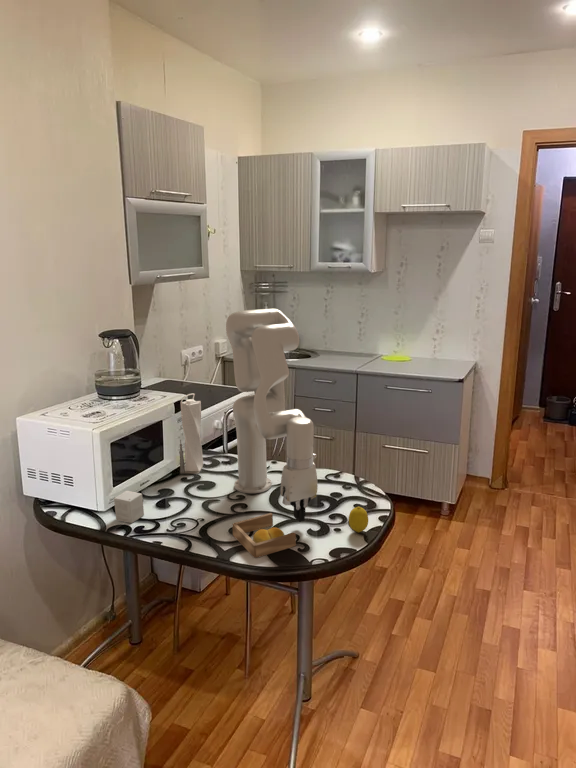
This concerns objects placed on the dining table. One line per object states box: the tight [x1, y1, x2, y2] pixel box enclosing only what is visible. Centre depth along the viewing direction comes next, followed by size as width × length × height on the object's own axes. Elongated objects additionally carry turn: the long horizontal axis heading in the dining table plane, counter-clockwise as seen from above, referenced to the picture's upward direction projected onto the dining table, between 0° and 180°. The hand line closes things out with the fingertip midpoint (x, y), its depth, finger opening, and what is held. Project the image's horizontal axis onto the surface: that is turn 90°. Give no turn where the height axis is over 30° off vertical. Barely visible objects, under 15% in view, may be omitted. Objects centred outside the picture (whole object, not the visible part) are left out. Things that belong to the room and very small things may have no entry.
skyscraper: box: [178, 393, 204, 475], centre depth 212 cm, size 8×8×28 cm
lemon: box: [348, 506, 369, 534], centre depth 167 cm, size 6×6×8 cm
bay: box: [231, 512, 297, 559], centre depth 164 cm, size 14×12×4 cm
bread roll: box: [252, 527, 285, 543], centre depth 163 cm, size 8×9×4 cm
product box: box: [113, 490, 145, 524], centre depth 178 cm, size 6×6×7 cm
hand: (299, 519), depth 171 cm, fingers closed
